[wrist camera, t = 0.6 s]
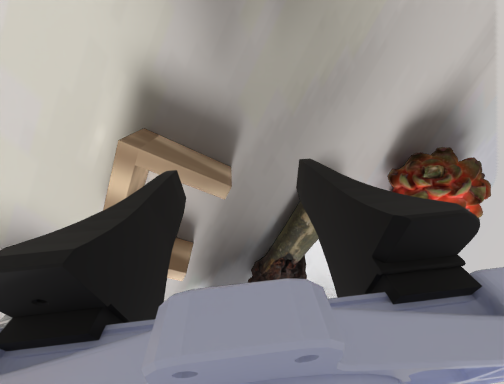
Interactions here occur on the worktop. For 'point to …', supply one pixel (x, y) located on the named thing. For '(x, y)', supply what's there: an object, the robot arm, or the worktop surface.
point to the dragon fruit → (443, 179)
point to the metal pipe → (287, 250)
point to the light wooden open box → (158, 161)
